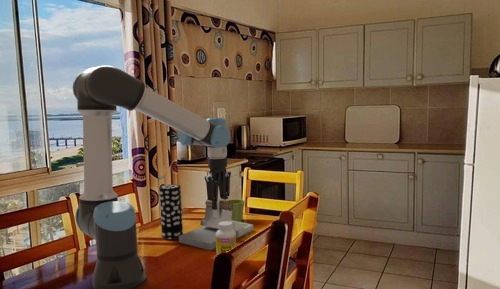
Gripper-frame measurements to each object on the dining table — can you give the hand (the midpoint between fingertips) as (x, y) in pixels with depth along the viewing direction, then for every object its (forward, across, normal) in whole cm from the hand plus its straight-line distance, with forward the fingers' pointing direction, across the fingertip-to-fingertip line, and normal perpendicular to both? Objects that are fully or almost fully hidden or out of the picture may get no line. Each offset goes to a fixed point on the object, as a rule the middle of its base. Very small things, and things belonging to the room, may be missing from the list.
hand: (219, 216), depth 164 cm
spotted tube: (+8, -11, +16) cm, 21 cm away
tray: (+8, +6, 0) cm, 10 cm away
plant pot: (+8, +18, +7) cm, 21 cm away
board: (+8, -7, 0) cm, 10 cm away
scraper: (+4, -2, 0) cm, 5 cm away
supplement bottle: (+8, -19, -19) cm, 28 cm away
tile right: (+6, +3, -4) cm, 8 cm away
